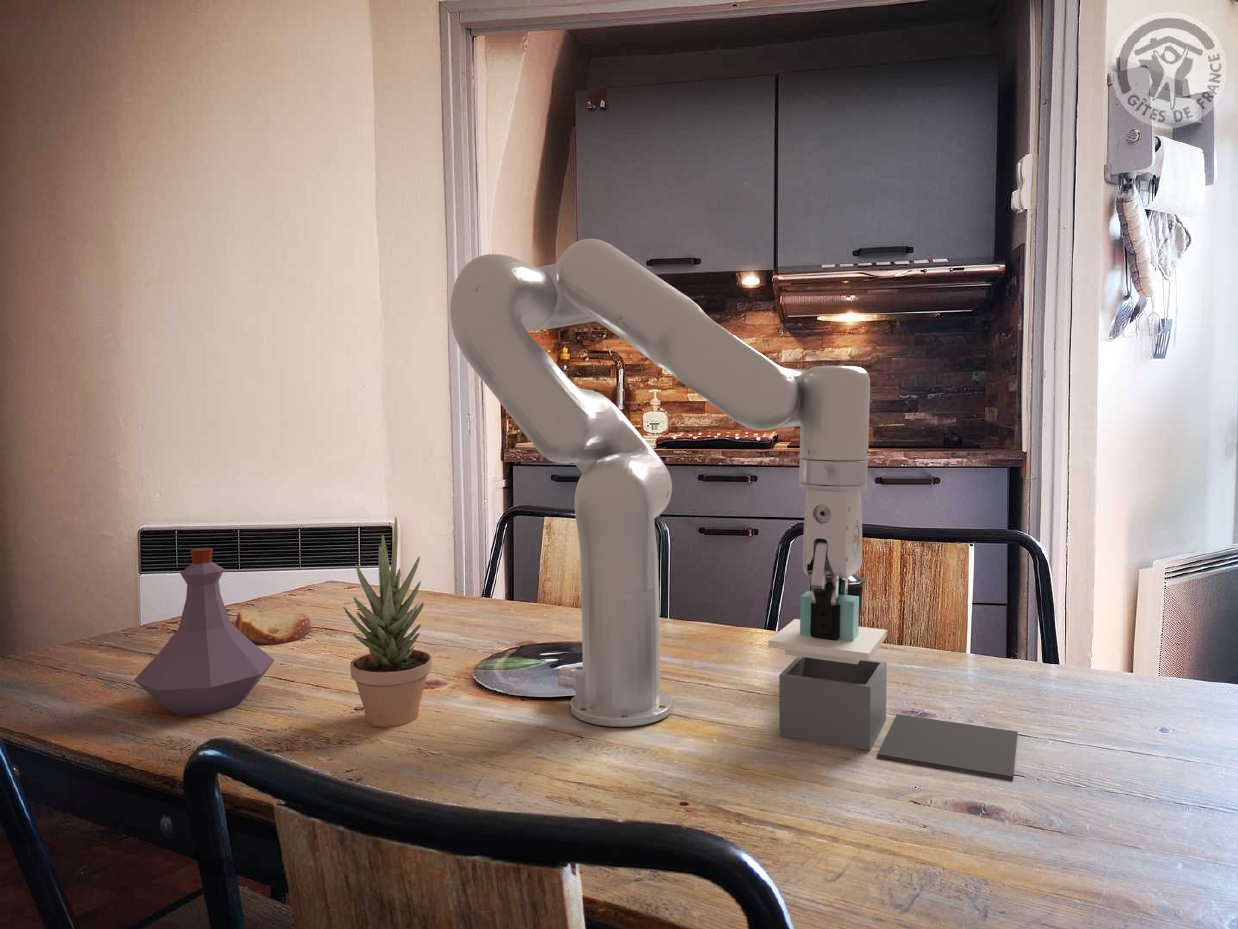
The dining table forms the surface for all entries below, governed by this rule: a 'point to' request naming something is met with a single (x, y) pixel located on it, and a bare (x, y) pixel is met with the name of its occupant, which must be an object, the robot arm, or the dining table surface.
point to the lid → (846, 649)
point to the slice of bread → (272, 626)
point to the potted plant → (389, 647)
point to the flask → (204, 651)
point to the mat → (951, 746)
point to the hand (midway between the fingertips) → (828, 633)
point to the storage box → (833, 701)
